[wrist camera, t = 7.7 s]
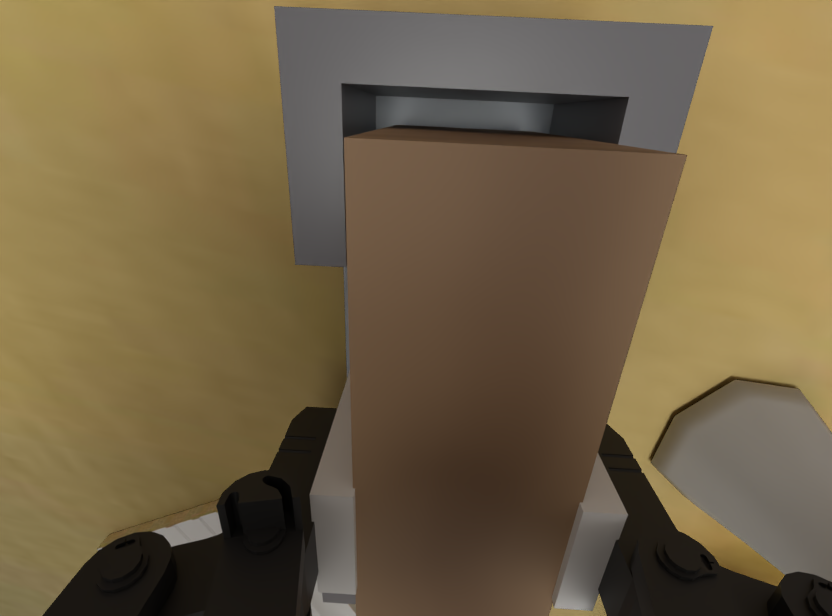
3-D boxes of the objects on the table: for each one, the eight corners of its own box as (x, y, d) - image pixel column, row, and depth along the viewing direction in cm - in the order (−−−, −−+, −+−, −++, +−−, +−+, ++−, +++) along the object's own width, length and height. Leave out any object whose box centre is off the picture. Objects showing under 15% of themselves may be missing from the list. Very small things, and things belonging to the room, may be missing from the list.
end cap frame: (353, 466, 21) (323, 602, 15) (343, 53, 14) (274, 6, 8) (511, 476, 21) (542, 616, 15) (590, 65, 13) (712, 25, 8)
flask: (734, 514, 22) (951, 802, 13) (620, 463, 20) (769, 740, 11) (854, 416, 19) (1245, 697, 10) (730, 351, 18) (1043, 600, 9)
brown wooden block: (388, 477, 18) (358, 721, 11) (396, 124, 12) (344, 137, 5) (480, 483, 18) (513, 731, 11) (534, 131, 12) (687, 154, 5)
